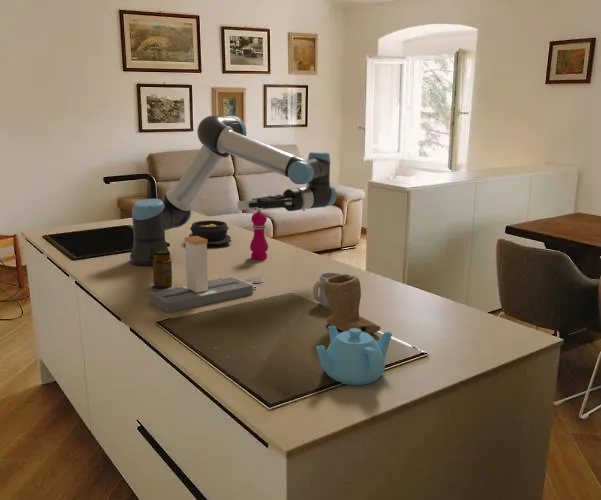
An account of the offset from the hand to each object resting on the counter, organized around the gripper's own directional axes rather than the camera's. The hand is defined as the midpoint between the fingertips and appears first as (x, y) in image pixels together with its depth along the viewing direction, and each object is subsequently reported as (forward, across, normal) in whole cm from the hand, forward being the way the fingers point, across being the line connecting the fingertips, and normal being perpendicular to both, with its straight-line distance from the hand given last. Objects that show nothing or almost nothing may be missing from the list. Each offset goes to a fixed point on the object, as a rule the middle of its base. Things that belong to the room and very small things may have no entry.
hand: (238, 205), depth 190 cm
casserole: (-26, +68, -26) cm, 77 cm away
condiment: (+19, +18, -28) cm, 38 cm away
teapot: (+13, -68, -30) cm, 76 cm away
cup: (-14, -27, -29) cm, 42 cm away
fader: (+16, 0, -25) cm, 29 cm away
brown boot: (-4, -47, -30) cm, 56 cm away
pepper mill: (-28, +32, -27) cm, 51 cm away
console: (+14, 0, -28) cm, 31 cm away
